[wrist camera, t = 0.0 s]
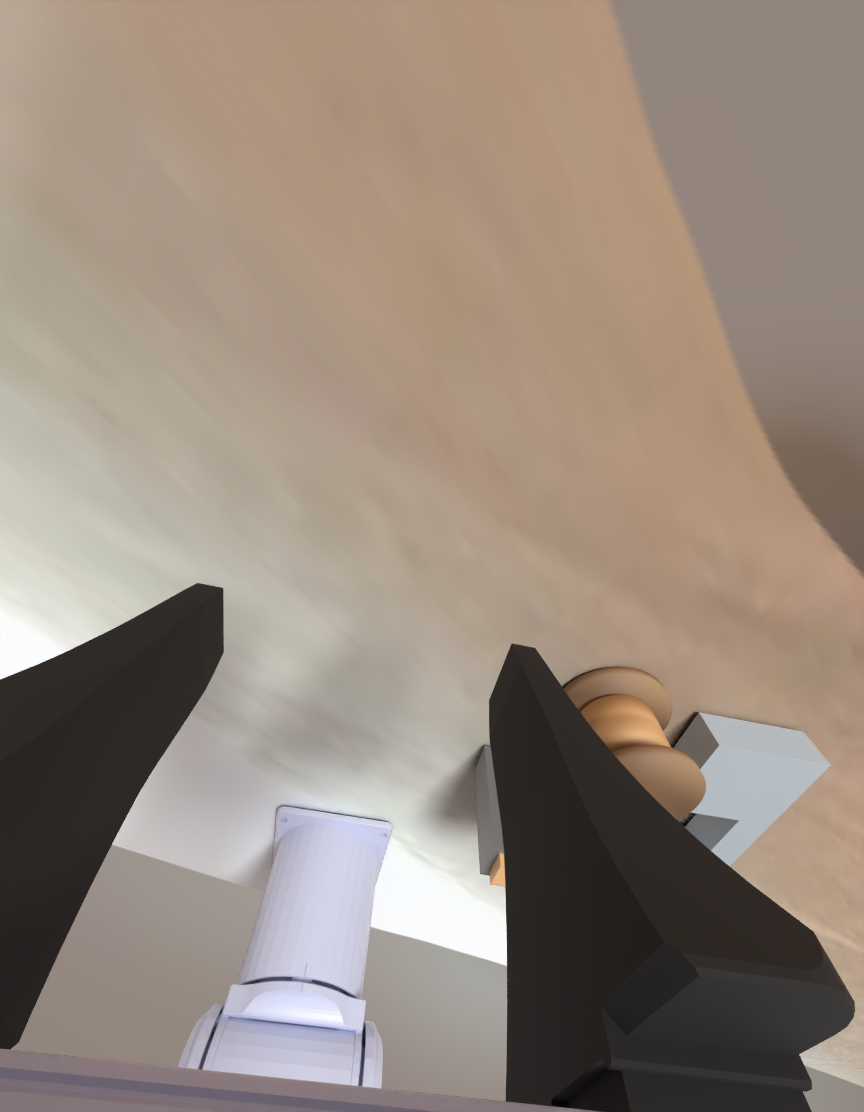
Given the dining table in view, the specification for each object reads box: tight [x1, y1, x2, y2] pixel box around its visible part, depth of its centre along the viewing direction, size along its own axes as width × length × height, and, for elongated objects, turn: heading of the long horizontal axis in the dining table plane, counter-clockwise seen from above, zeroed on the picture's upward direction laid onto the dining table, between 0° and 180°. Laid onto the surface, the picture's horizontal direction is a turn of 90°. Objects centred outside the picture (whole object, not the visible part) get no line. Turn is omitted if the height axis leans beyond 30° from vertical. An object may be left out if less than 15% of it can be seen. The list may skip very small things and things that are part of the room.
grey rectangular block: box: [474, 745, 505, 887], centre depth 26 cm, size 2×4×7 cm, turn 77°
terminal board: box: [674, 712, 830, 866], centre depth 29 cm, size 16×6×2 cm, turn 168°
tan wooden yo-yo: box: [564, 667, 706, 820], centre depth 24 cm, size 6×6×5 cm
